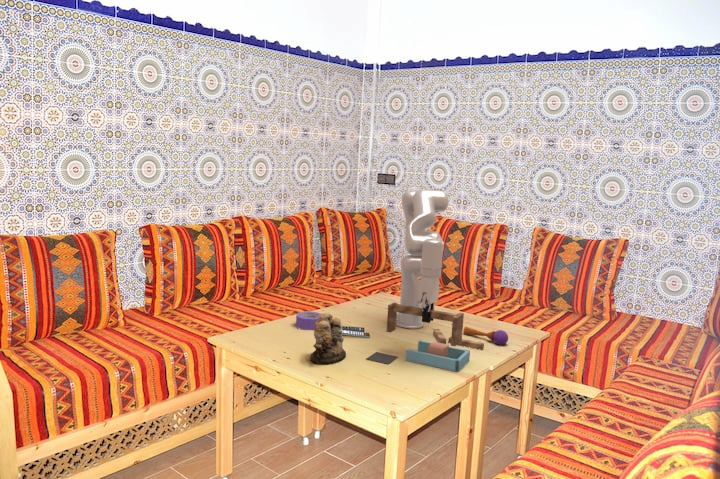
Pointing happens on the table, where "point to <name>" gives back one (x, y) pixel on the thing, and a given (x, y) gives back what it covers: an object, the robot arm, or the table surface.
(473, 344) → the plain stick
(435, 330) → the plain stick
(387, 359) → the grey square tile
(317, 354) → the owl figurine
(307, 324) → the tape roll
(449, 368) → the cubby
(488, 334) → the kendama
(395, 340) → the table surface
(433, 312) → the crook rake
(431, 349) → the clay-red block
